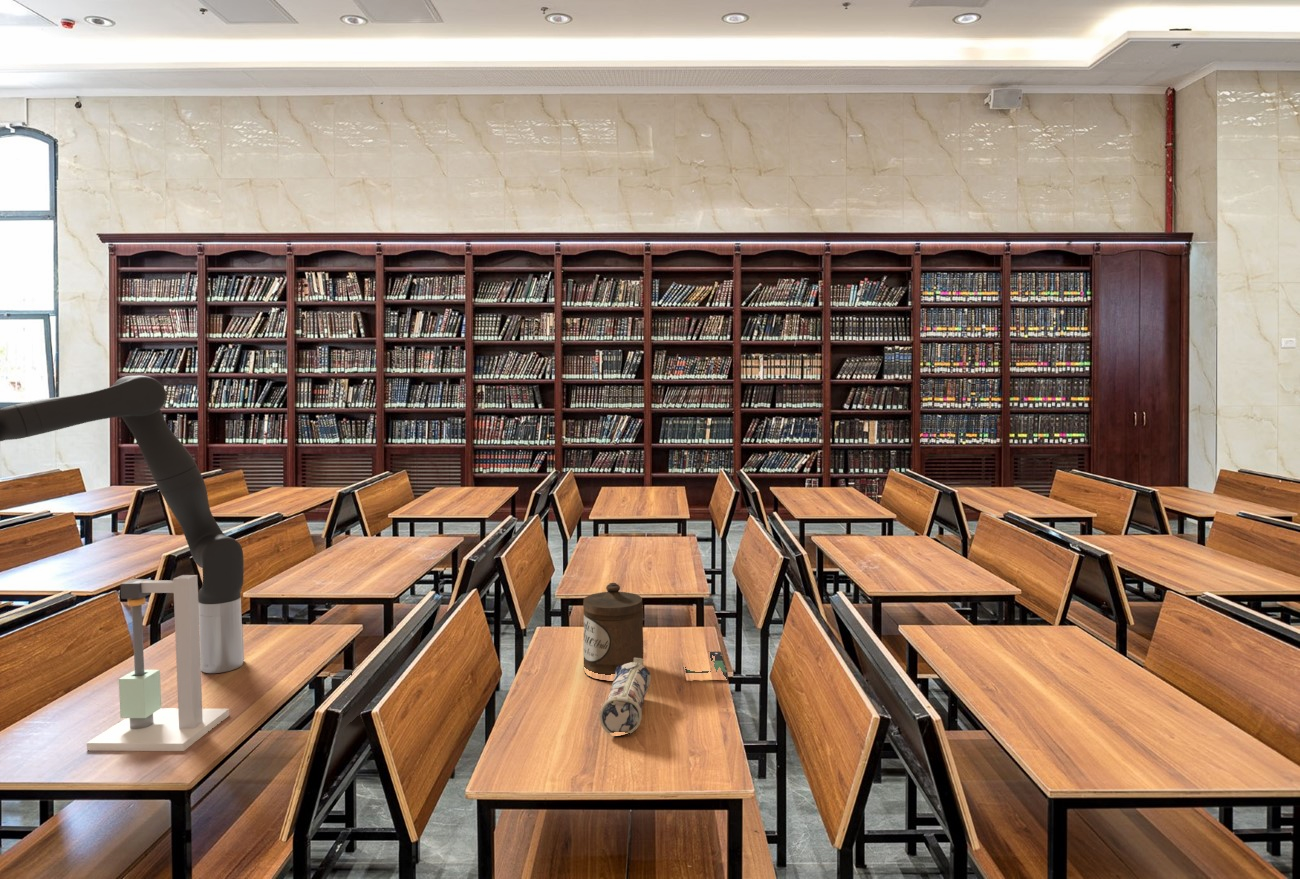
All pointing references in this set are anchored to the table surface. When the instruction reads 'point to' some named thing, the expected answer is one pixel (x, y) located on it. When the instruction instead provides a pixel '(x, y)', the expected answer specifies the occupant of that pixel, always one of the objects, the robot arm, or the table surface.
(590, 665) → the wooden container
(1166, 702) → the table surface
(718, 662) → the disk drive
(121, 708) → the pale green block
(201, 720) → the sliding block stand
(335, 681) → the ink cartridge
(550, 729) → the table surface
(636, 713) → the pencil case
